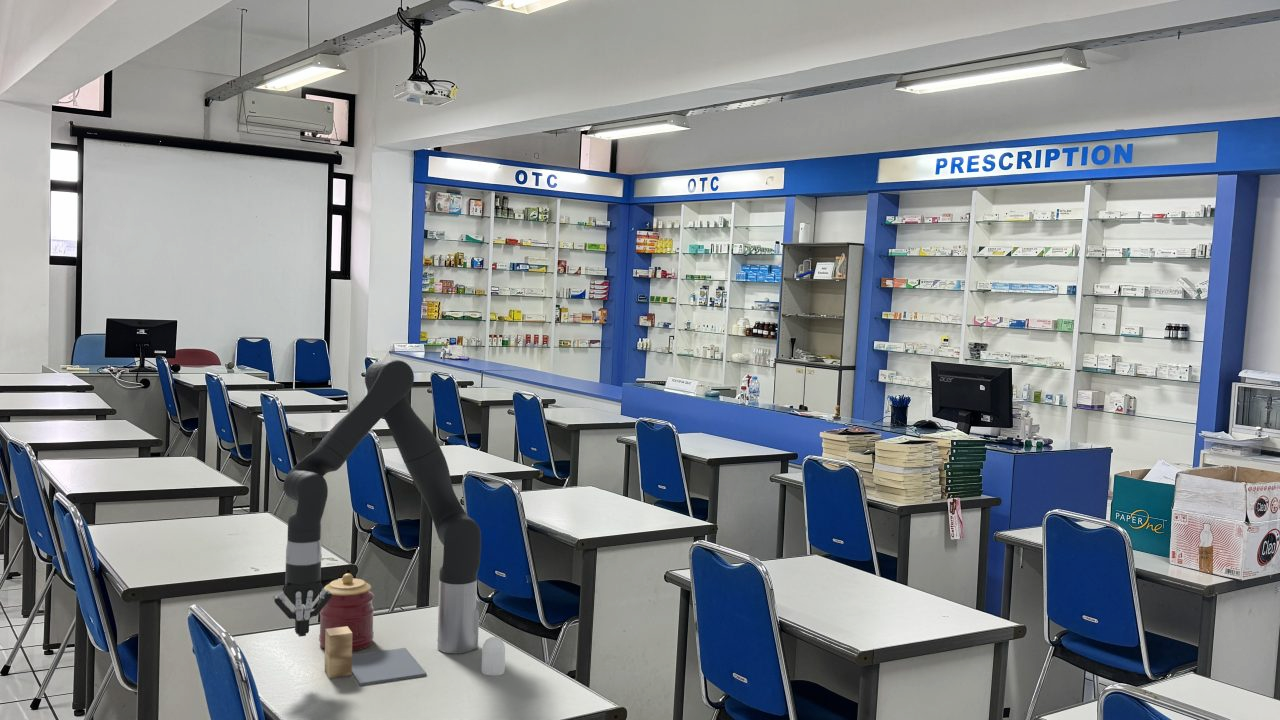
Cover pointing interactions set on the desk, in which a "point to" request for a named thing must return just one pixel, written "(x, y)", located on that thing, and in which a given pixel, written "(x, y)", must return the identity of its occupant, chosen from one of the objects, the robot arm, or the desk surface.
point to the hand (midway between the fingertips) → (301, 635)
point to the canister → (349, 610)
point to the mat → (385, 666)
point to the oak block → (338, 652)
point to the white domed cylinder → (493, 656)
